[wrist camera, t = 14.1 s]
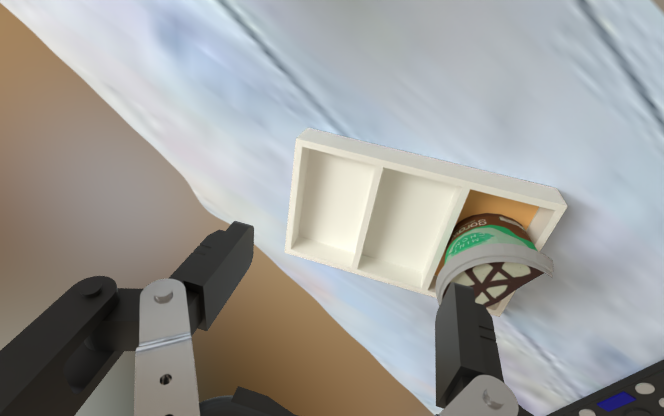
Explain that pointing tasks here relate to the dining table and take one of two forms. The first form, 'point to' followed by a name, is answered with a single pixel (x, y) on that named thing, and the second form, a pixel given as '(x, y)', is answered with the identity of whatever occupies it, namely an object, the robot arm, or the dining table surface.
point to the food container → (490, 258)
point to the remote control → (624, 397)
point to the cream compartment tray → (398, 209)
